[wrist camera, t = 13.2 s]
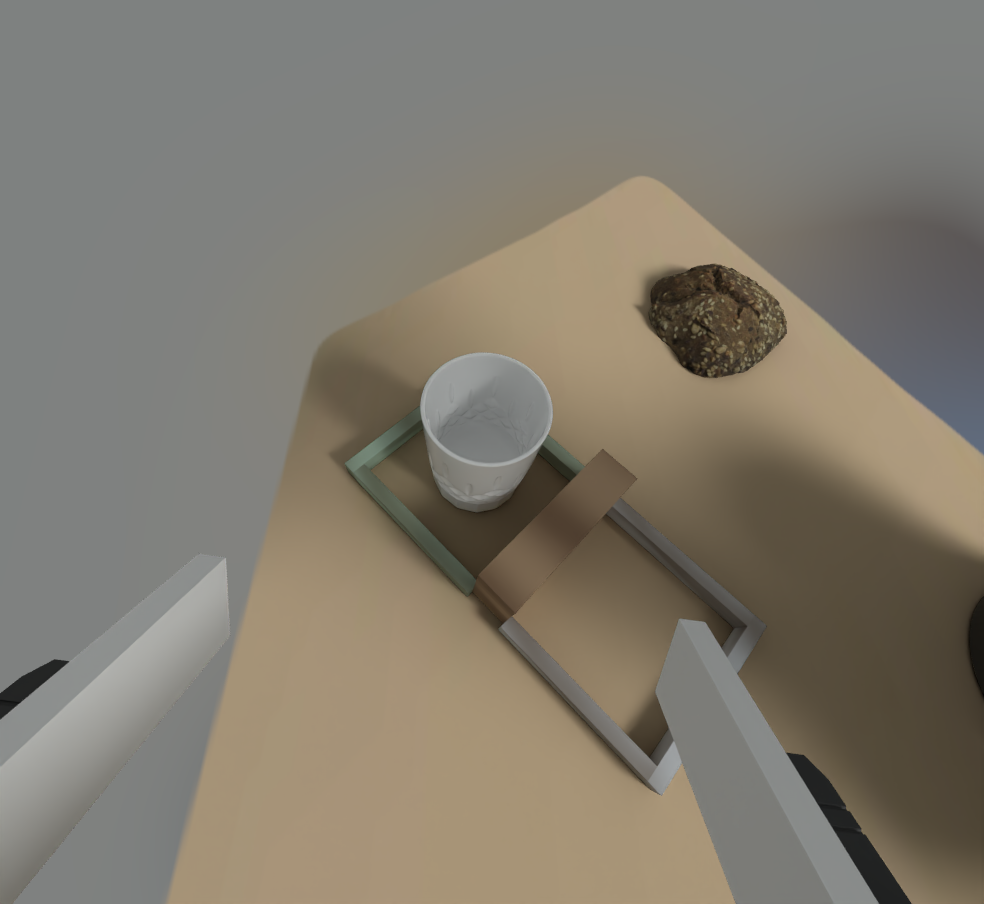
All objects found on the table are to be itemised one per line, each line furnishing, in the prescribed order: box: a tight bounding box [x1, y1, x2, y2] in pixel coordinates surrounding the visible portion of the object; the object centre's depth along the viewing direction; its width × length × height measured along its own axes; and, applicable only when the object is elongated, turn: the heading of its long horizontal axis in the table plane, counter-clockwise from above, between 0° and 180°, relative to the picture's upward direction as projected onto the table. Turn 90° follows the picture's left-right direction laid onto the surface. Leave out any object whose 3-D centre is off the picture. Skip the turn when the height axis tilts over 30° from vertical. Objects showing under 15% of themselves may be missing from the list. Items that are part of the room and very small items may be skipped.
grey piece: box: [345, 406, 767, 796], centre depth 31 cm, size 13×29×6 cm, turn 46°
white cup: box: [420, 353, 553, 512], centre depth 31 cm, size 8×8×10 cm
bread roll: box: [649, 264, 787, 378], centre depth 44 cm, size 13×12×5 cm
